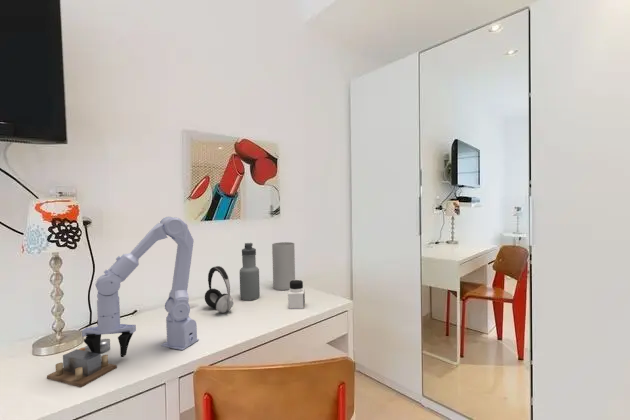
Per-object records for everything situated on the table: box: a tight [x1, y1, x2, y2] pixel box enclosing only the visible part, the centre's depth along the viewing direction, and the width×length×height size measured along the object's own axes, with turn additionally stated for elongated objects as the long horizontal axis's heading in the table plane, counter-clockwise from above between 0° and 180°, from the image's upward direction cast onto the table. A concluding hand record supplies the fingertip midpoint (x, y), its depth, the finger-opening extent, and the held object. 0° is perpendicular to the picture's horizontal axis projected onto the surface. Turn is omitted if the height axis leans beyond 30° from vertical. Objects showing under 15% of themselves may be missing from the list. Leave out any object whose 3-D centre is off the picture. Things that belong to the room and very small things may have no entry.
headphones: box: [204, 265, 234, 313], centre depth 140 cm, size 19×8×20 cm, turn 44°
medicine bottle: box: [287, 279, 306, 310], centre depth 143 cm, size 7×7×12 cm
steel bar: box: [62, 348, 102, 376], centre depth 89 cm, size 10×4×4 cm, turn 71°
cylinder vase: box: [271, 241, 296, 291], centre depth 175 cm, size 12×12×25 cm
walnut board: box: [46, 351, 118, 388], centre depth 89 cm, size 14×10×4 cm
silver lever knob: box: [78, 338, 111, 354], centre depth 100 cm, size 4×9×4 cm, turn 161°
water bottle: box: [239, 242, 261, 301], centre depth 157 cm, size 10×10×28 cm
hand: (110, 356), depth 95 cm, fingers open, 7 cm apart
